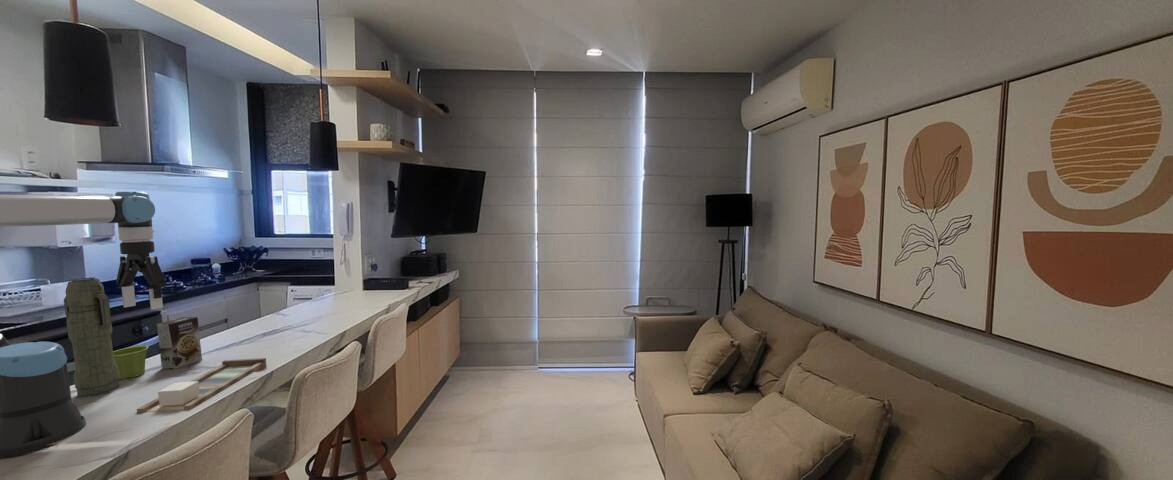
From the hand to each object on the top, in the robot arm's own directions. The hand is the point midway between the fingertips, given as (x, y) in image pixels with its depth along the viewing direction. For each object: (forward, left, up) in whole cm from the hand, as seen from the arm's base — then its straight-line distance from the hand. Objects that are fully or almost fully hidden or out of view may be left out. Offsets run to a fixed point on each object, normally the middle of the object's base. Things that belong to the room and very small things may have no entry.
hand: (143, 307), depth 138 cm
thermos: (-6, +10, -25) cm, 27 cm away
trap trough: (-10, -24, -24) cm, 35 cm away
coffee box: (+15, +2, -25) cm, 29 cm away
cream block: (-20, -24, -23) cm, 39 cm away
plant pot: (+6, +11, -25) cm, 28 cm away
